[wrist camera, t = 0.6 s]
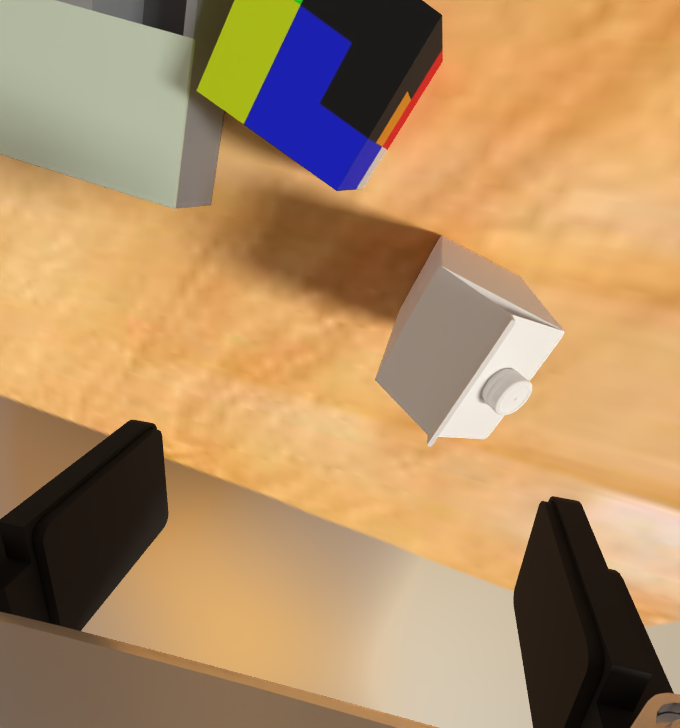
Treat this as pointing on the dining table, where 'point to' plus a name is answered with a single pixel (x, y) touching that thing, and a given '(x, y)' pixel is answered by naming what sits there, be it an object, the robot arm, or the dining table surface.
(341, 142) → the puzzle toy
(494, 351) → the milk carton
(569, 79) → the dining table surface
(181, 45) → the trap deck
